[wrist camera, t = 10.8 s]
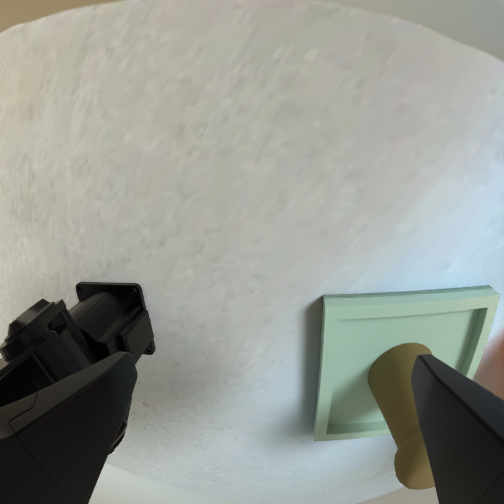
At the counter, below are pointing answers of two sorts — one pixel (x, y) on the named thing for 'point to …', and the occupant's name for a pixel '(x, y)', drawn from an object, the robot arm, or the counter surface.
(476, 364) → the tray
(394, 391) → the cork
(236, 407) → the counter surface
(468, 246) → the counter surface
